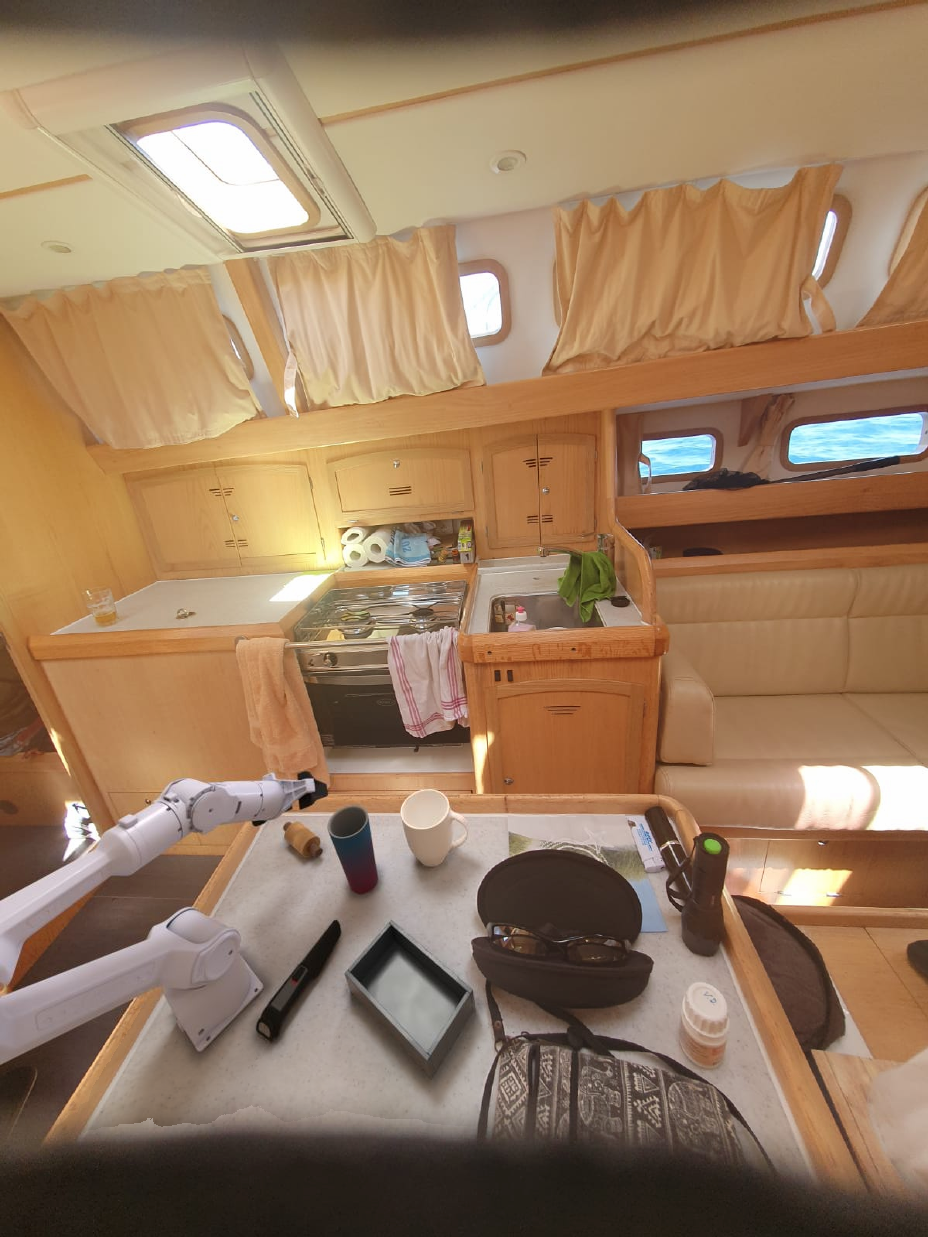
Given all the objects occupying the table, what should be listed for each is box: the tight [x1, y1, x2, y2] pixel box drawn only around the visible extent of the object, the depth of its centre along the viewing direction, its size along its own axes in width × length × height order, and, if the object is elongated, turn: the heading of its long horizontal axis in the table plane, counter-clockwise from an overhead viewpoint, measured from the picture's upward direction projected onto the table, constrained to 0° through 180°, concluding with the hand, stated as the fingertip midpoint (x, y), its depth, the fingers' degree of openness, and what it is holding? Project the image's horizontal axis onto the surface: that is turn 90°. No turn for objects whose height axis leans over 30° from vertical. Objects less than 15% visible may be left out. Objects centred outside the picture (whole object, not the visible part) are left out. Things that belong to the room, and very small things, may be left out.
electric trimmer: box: [255, 919, 343, 1043], centre depth 67 cm, size 4×16×3 cm, turn 153°
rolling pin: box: [282, 821, 324, 859], centre depth 89 cm, size 4×11×4 cm, turn 51°
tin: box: [343, 919, 476, 1080], centre depth 63 cm, size 9×16×4 cm, turn 52°
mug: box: [400, 788, 469, 868], centre depth 83 cm, size 12×9×12 cm
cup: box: [326, 804, 379, 895], centre depth 78 cm, size 7×7×15 cm
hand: (307, 796), depth 79 cm, fingers open, 7 cm apart
